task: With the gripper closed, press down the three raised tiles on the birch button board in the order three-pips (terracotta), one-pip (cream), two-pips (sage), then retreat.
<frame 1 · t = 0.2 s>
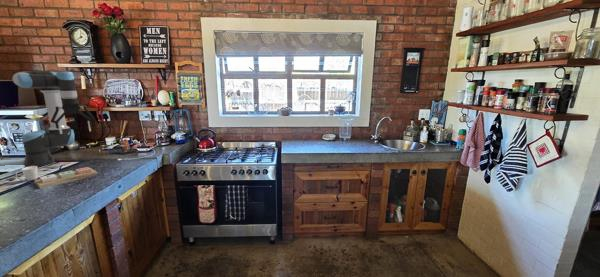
hand: (76, 132, 156), 27 cm above the counter, fingers open, 13 cm apart
figurine: (127, 152, 210), on the counter
cup: (29, 181, 149), on the counter
tile 3: (83, 170, 157), point 3 cm above the counter, slide at 0.0 cm
tile 2: (66, 174, 151), point 3 cm above the counter, slide at 0.0 cm
tile 1: (48, 178, 145), point 3 cm above the counter, slide at 0.0 cm
board: (67, 179, 152), on the counter
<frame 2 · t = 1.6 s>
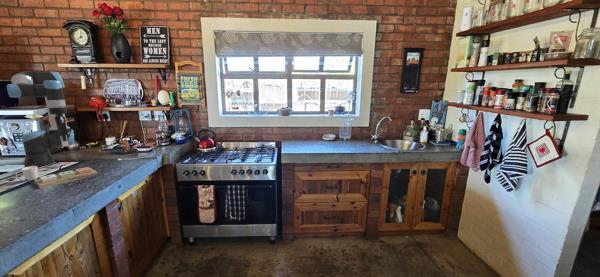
hand: (65, 145, 152), 20 cm above the counter, fingers closed
nothing on the counter moved.
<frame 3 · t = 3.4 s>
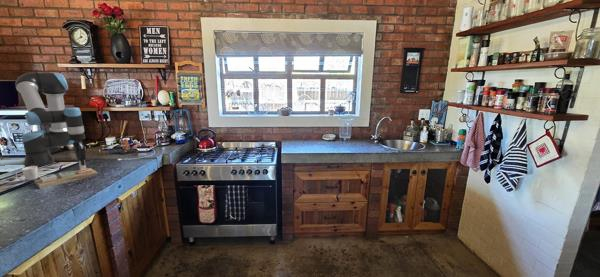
hand: (83, 169, 157), 4 cm above the counter, fingers closed
tile 3: (83, 172, 157), point 2 cm above the counter, slide at 1.0 cm
everything else where it was.
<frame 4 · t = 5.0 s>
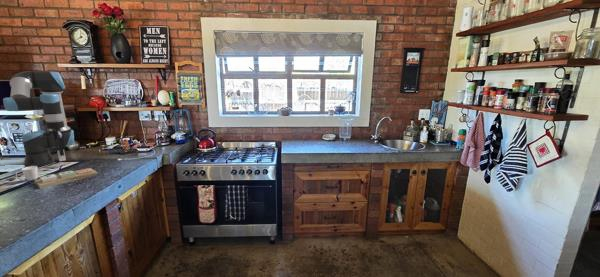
hand: (62, 160, 148), 12 cm above the counter, fingers closed
nothing on the counter moved.
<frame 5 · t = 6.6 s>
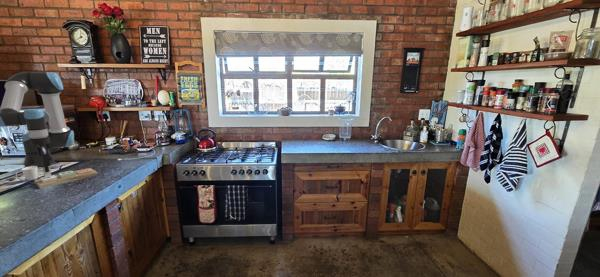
hand: (48, 176, 144), 4 cm above the counter, fingers closed
tile 1: (48, 179, 145), point 3 cm above the counter, slide at 0.6 cm, touching gripper
everything else where it was.
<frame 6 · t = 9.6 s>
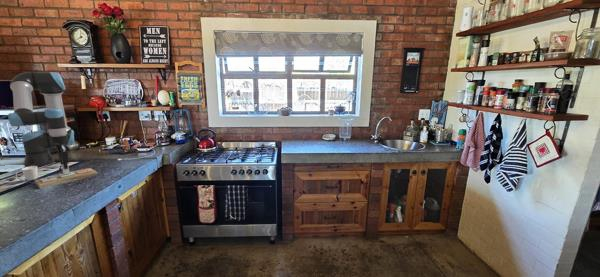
hand: (66, 173, 151), 4 cm above the counter, fingers closed
tile 2: (67, 175, 151), point 2 cm above the counter, slide at 1.0 cm, touching gripper
tile 1: (49, 180, 145), point 2 cm above the counter, slide at 1.2 cm
everything else where it was.
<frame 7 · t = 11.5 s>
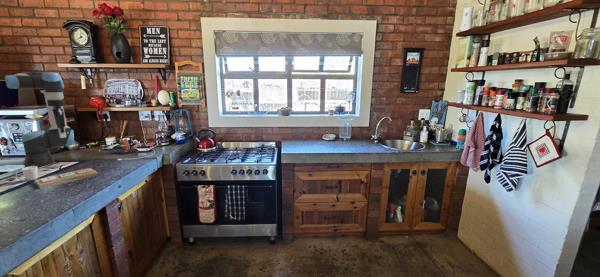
hand: (63, 137, 155), 24 cm above the counter, fingers closed
tile 2: (67, 176, 151), point 2 cm above the counter, slide at 1.2 cm
everything else where it was.
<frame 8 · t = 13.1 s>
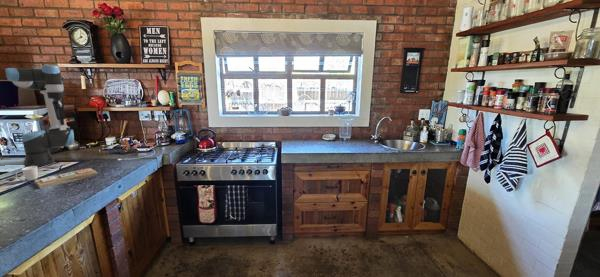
hand: (63, 129, 157), 28 cm above the counter, fingers closed
nothing on the counter moved.
at the end: tile 3 slide at 1.2 cm; tile 1 slide at 1.2 cm; tile 2 slide at 1.2 cm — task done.
